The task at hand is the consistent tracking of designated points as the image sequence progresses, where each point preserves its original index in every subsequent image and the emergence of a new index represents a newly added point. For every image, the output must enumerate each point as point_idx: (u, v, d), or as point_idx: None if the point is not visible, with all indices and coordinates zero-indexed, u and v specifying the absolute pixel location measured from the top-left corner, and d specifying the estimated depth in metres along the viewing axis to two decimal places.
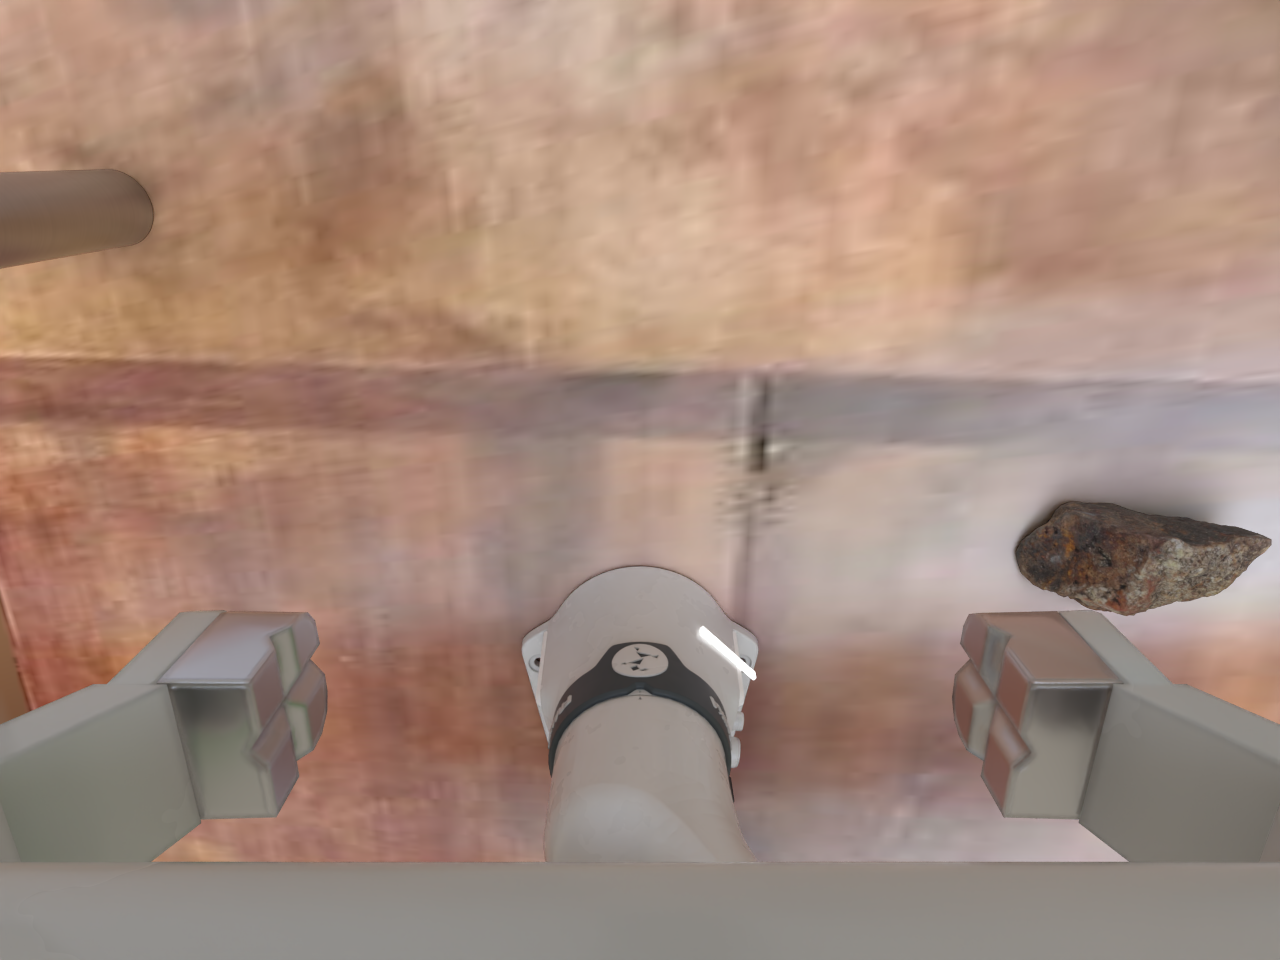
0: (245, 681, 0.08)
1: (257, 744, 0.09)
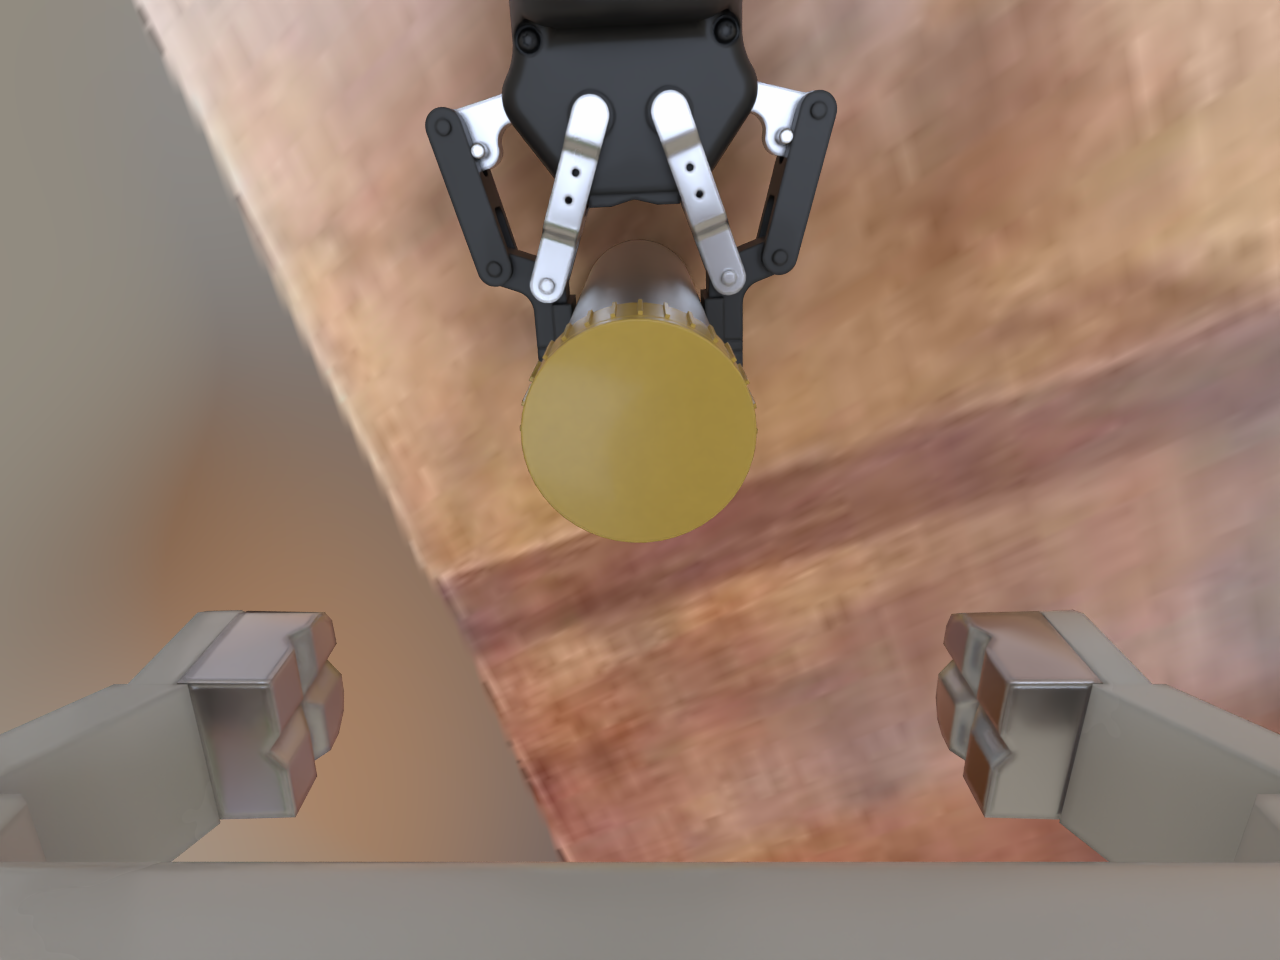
0: (266, 680, 0.08)
1: (276, 744, 0.09)
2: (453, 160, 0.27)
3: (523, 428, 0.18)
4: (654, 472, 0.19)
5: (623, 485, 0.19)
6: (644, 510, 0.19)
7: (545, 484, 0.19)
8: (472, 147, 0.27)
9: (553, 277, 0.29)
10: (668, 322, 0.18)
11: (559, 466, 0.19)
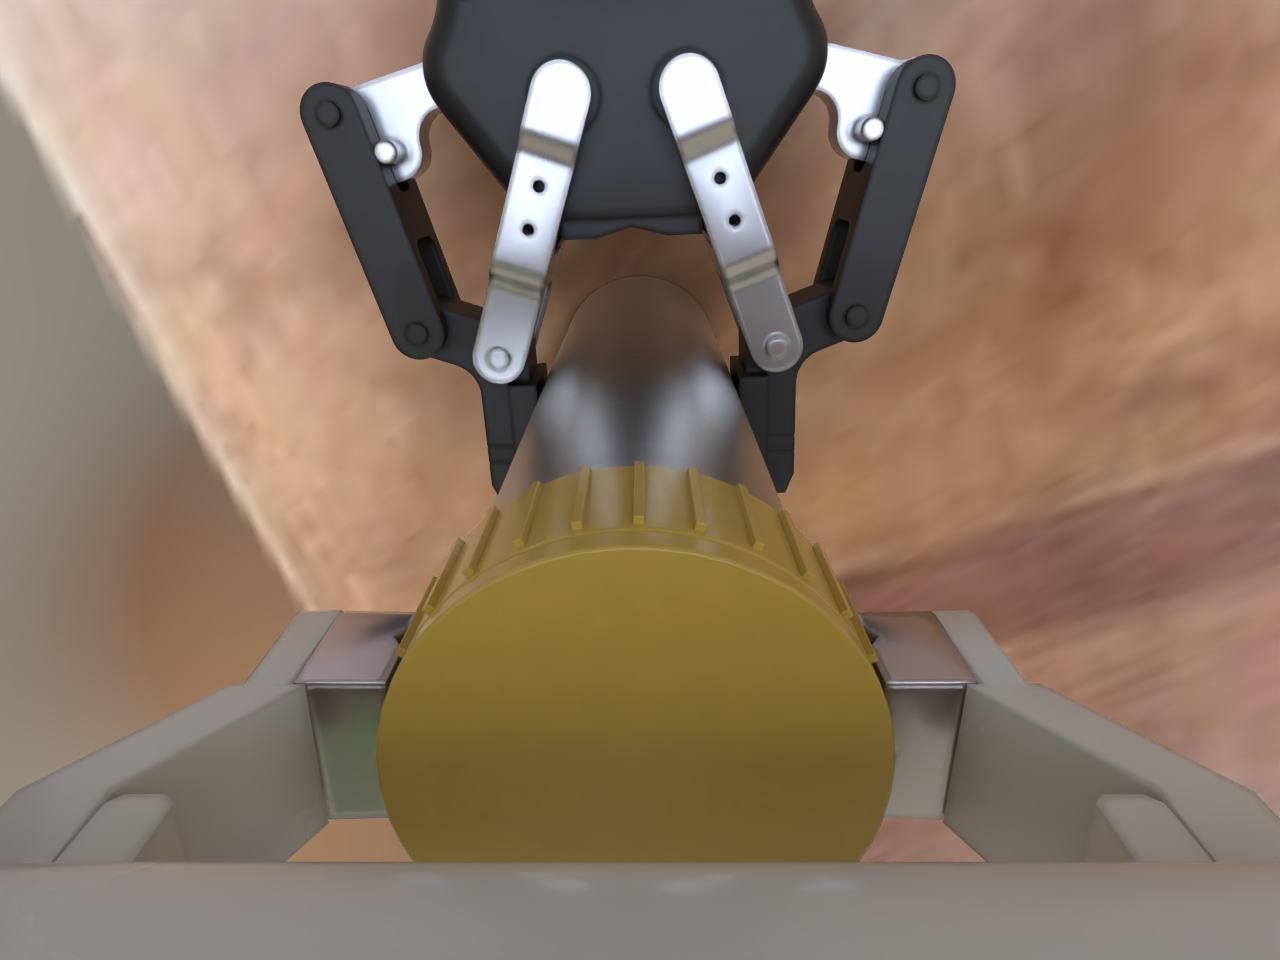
0: (380, 680, 0.08)
1: None
2: (347, 167, 0.17)
3: (381, 762, 0.08)
4: (669, 843, 0.09)
5: None
6: None
7: None
8: (376, 146, 0.17)
9: (508, 346, 0.19)
10: (705, 553, 0.07)
11: (464, 833, 0.09)
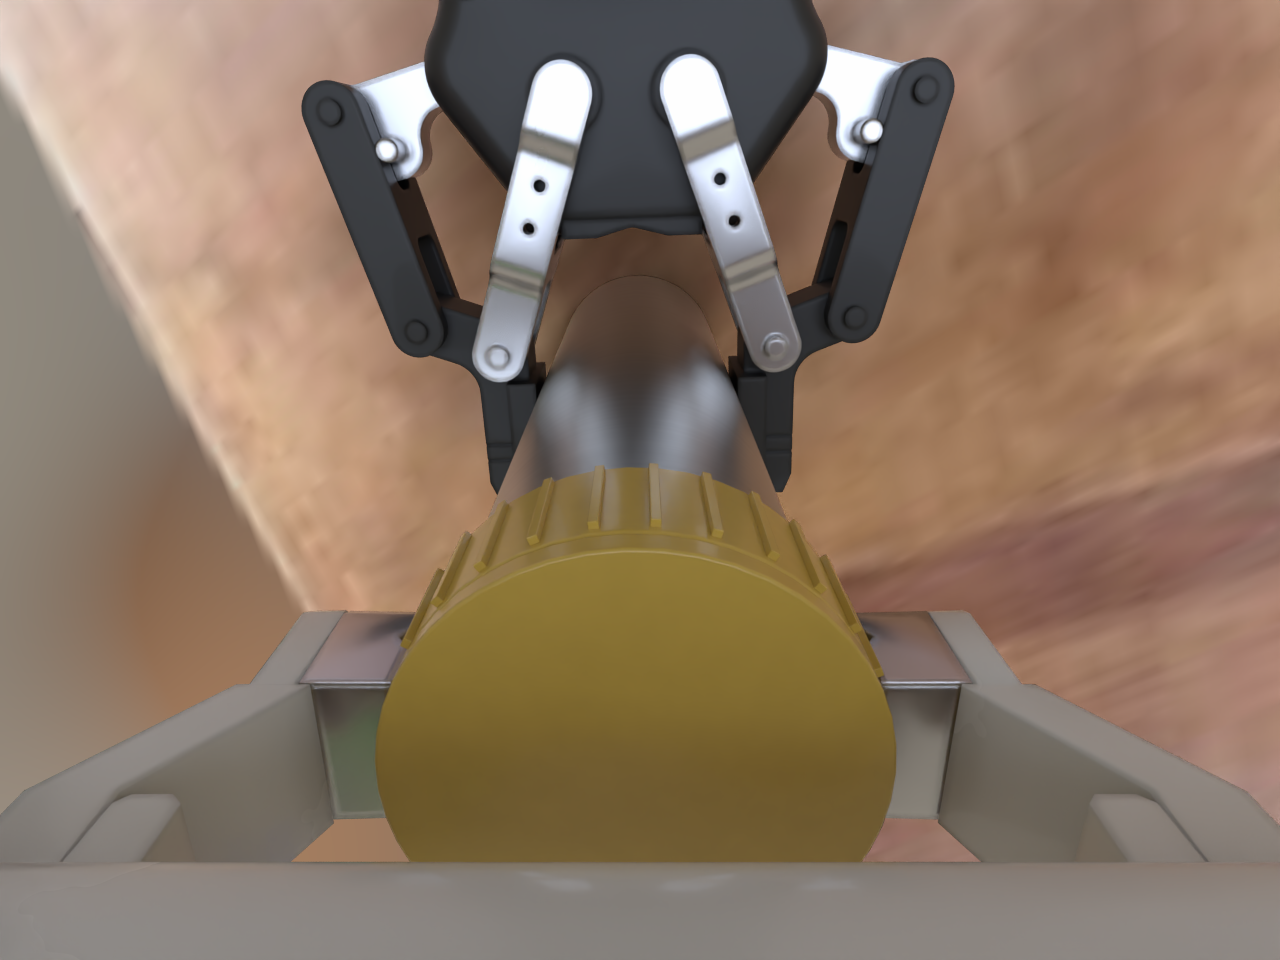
0: (386, 681, 0.08)
1: None
2: (348, 165, 0.17)
3: None
4: (726, 774, 0.08)
5: (734, 833, 0.09)
6: (806, 812, 0.08)
7: None
8: (377, 145, 0.17)
9: (507, 344, 0.19)
10: (398, 670, 0.08)
11: None
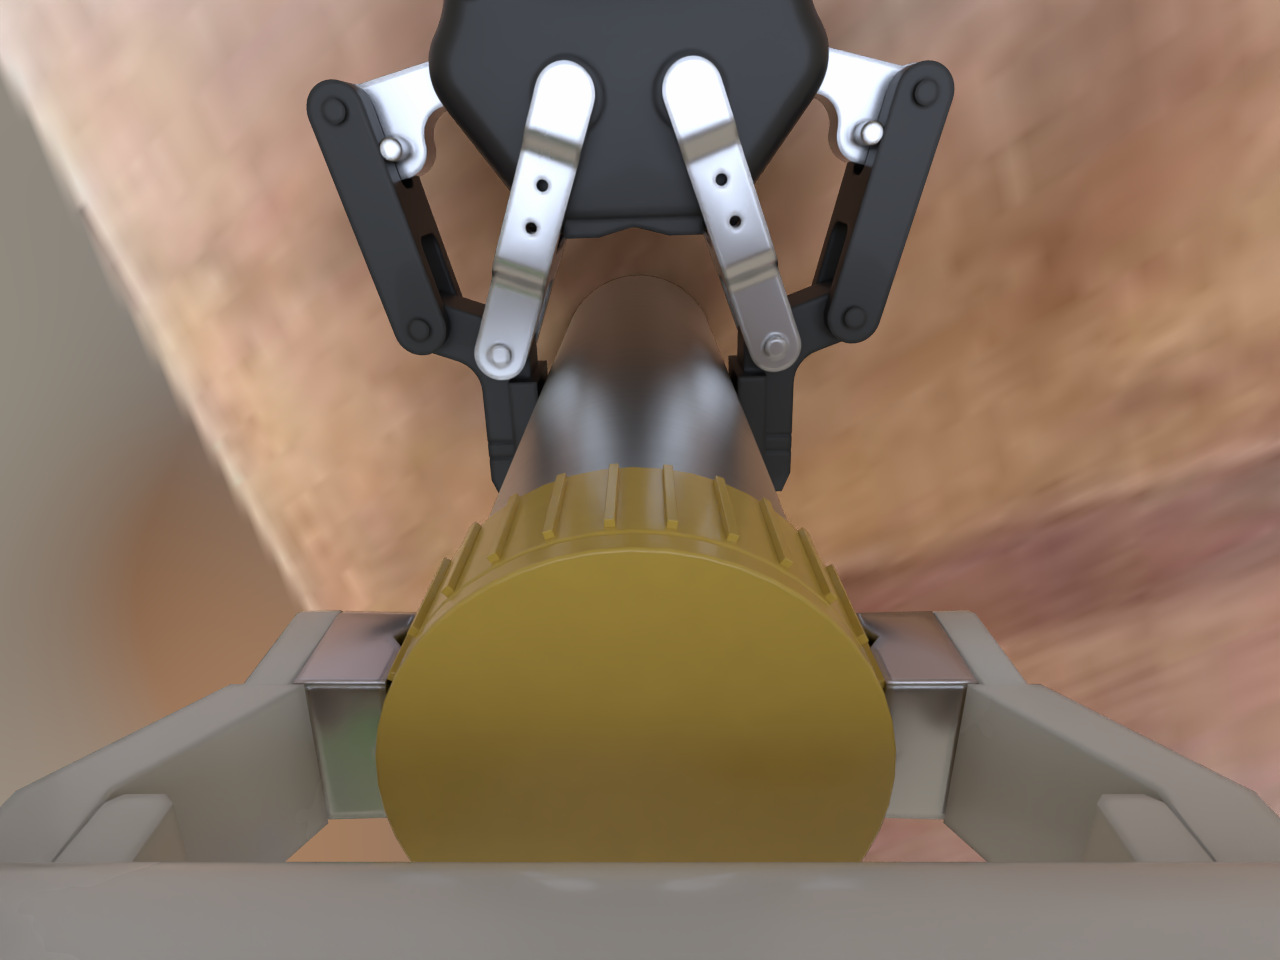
0: (381, 681, 0.08)
1: None
2: (352, 163, 0.18)
3: None
4: (651, 708, 0.08)
5: (729, 717, 0.08)
6: (725, 650, 0.08)
7: (871, 794, 0.08)
8: (381, 143, 0.17)
9: (509, 343, 0.19)
10: None
11: (819, 812, 0.09)
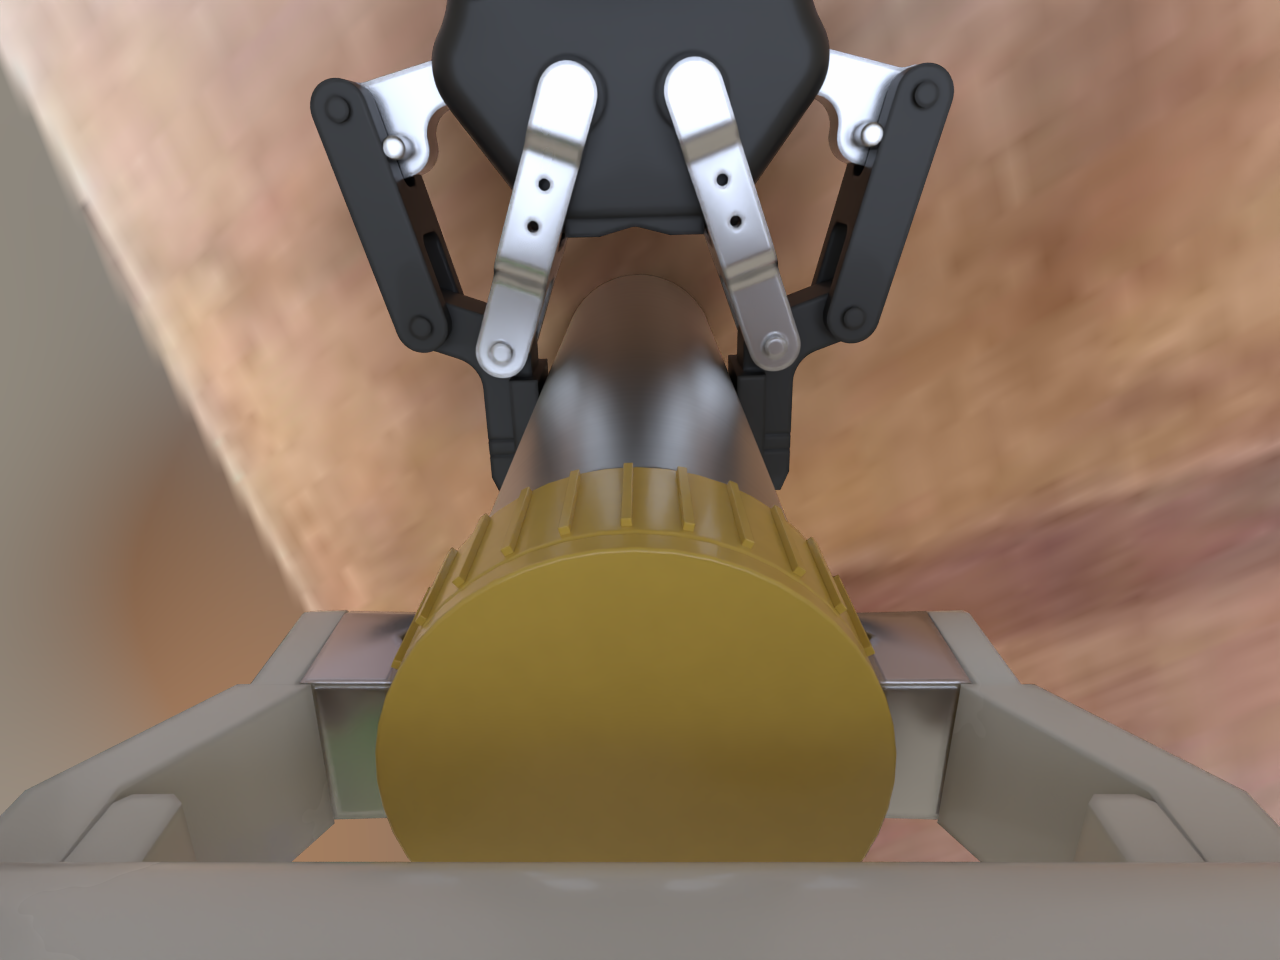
0: (387, 681, 0.08)
1: None
2: (355, 161, 0.18)
3: (852, 651, 0.08)
4: (553, 750, 0.08)
5: (583, 691, 0.08)
6: (502, 678, 0.08)
7: (727, 583, 0.08)
8: (384, 142, 0.18)
9: (510, 341, 0.19)
10: None
11: (730, 638, 0.08)
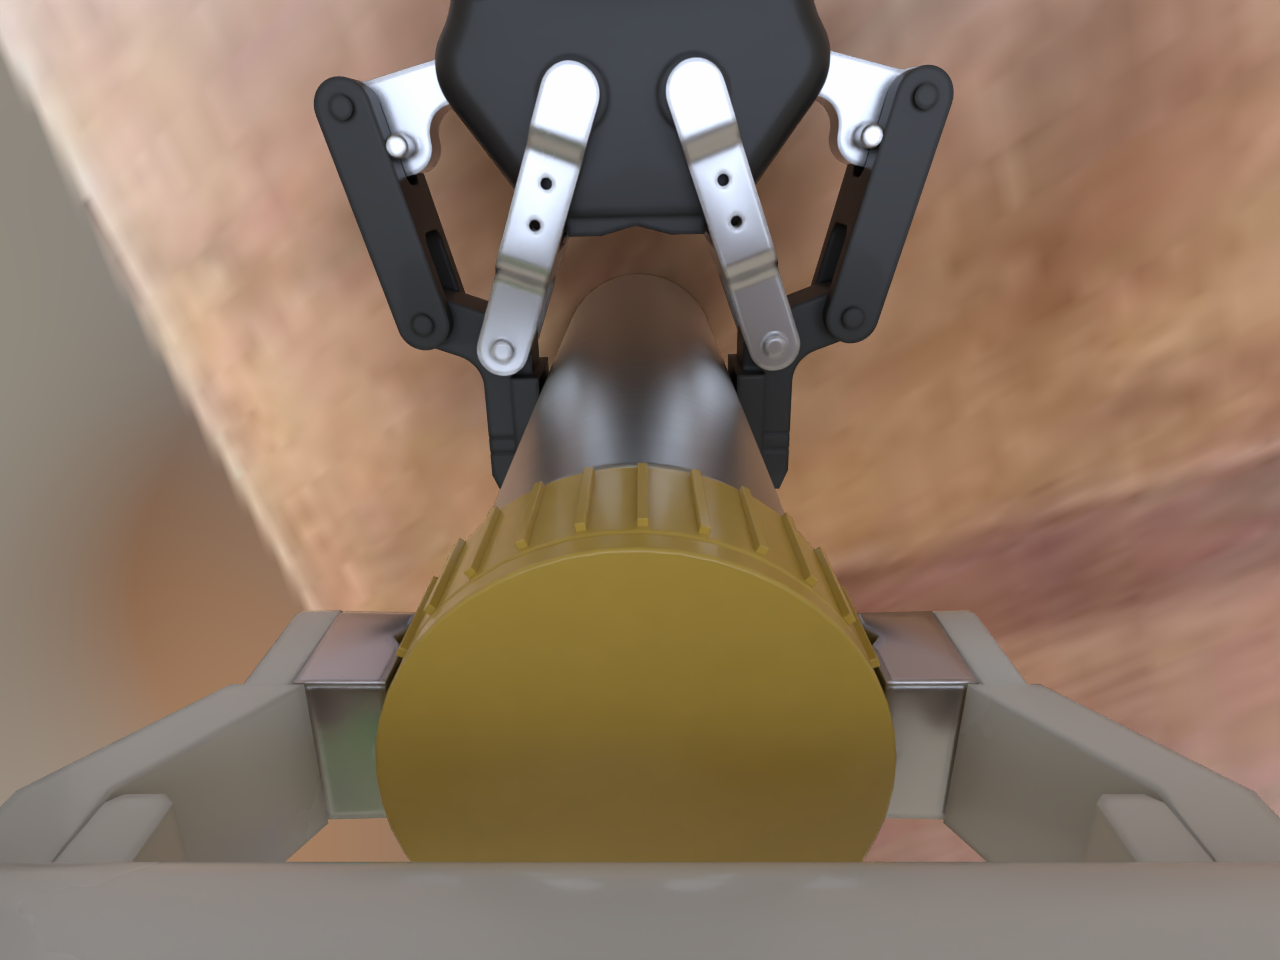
0: (380, 681, 0.08)
1: None
2: (358, 160, 0.18)
3: (535, 570, 0.07)
4: (576, 833, 0.09)
5: (517, 796, 0.08)
6: (487, 849, 0.09)
7: (430, 660, 0.08)
8: (387, 140, 0.18)
9: (512, 339, 0.19)
10: (894, 740, 0.08)
11: (489, 672, 0.08)
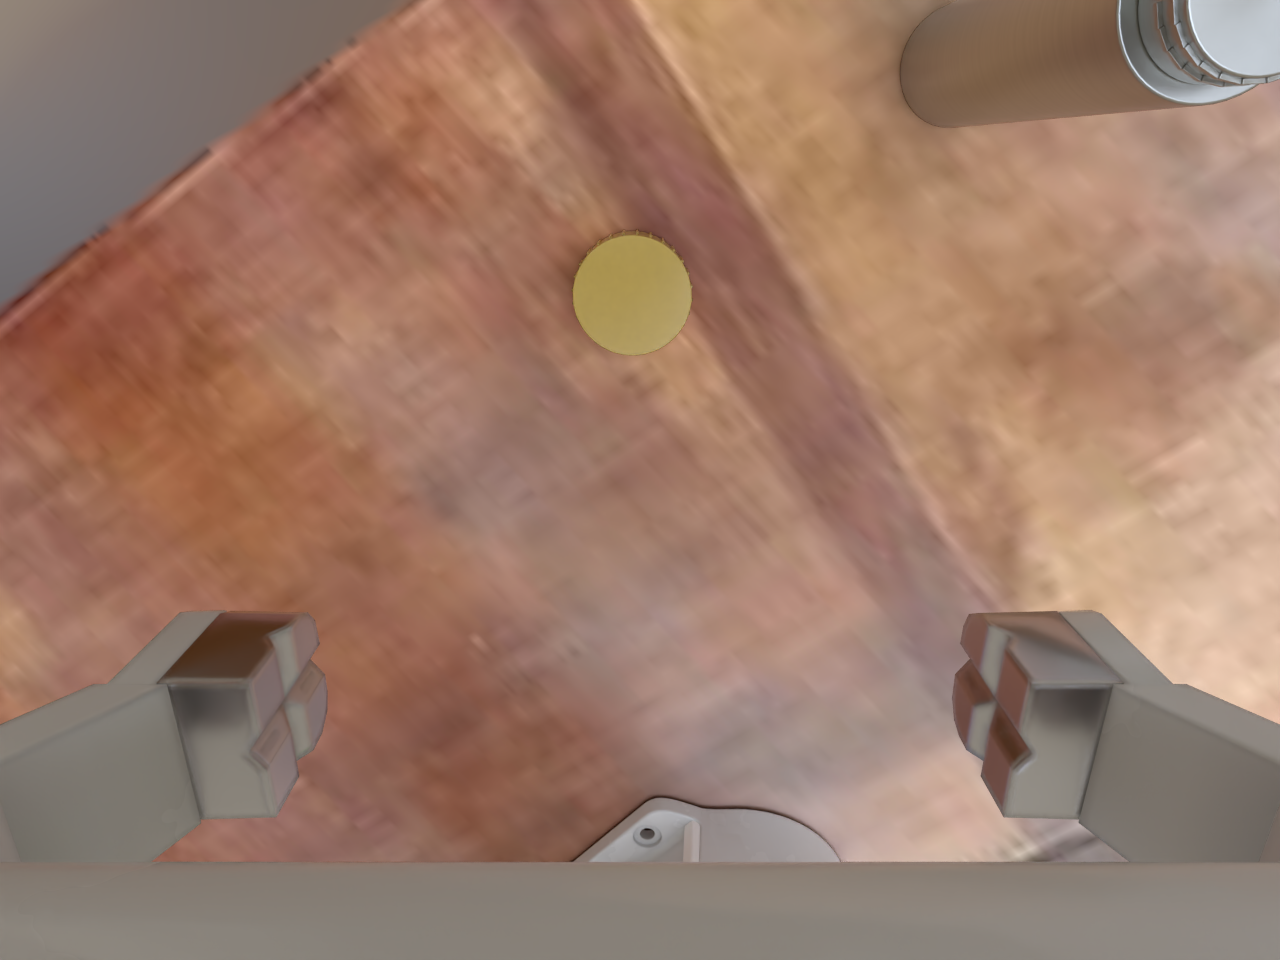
0: (245, 680, 0.08)
1: (257, 744, 0.09)
2: None
3: (574, 301, 0.37)
4: (642, 314, 0.37)
5: (628, 324, 0.37)
6: (641, 336, 0.37)
7: (589, 329, 0.37)
8: None
9: None
10: (637, 235, 0.36)
11: (595, 318, 0.37)
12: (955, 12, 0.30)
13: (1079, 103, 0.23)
